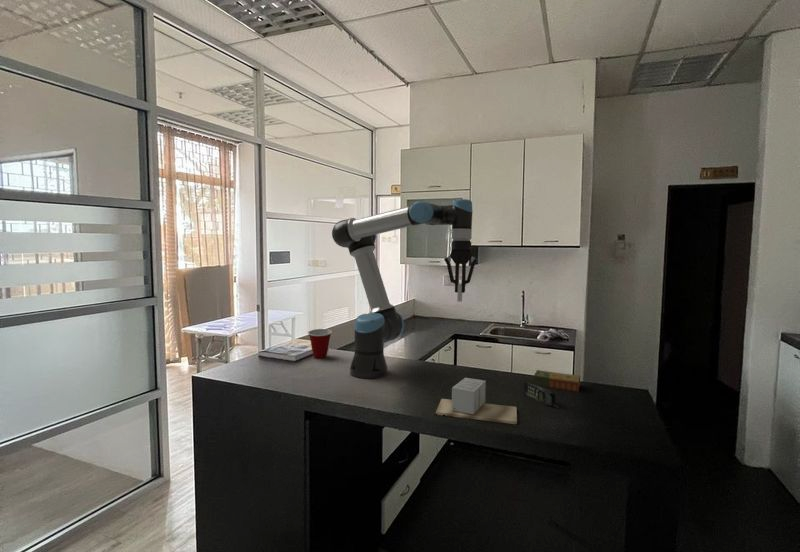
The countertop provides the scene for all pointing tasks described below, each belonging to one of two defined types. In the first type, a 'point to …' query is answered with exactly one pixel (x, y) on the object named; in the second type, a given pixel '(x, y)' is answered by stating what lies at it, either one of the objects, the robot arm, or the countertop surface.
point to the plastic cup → (320, 342)
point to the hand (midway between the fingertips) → (459, 301)
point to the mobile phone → (540, 394)
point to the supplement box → (468, 395)
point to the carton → (557, 380)
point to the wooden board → (481, 412)
